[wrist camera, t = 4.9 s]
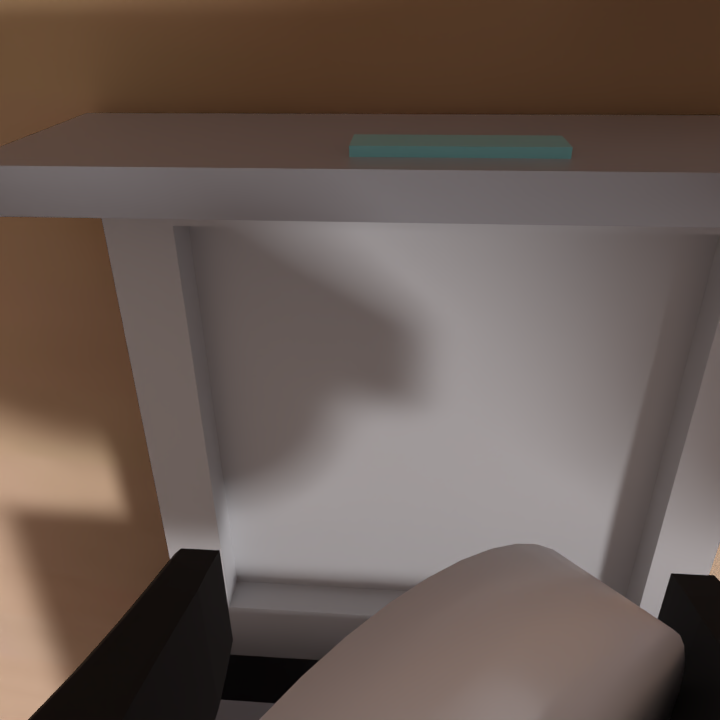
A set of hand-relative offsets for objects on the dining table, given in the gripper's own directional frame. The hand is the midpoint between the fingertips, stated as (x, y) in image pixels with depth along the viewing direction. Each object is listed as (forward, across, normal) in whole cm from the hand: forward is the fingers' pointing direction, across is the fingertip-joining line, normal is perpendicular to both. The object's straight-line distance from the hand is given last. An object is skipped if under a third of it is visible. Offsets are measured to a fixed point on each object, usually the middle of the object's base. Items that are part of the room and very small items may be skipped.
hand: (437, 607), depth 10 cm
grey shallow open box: (+6, 0, +1) cm, 6 cm away
